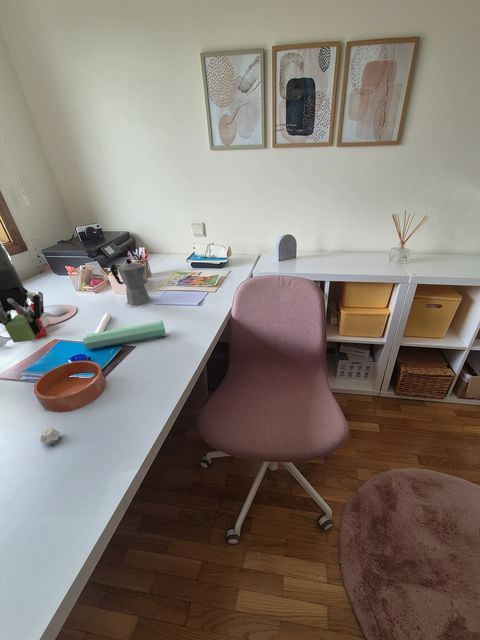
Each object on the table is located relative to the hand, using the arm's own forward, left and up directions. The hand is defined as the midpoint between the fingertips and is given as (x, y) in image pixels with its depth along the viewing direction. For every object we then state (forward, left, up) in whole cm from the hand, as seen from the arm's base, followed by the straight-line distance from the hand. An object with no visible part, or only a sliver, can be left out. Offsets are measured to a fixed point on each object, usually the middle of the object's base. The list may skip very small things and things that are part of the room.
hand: (27, 334), depth 74 cm
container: (+17, +18, -16) cm, 29 cm away
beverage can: (-14, +30, -16) cm, 36 cm away
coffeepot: (+16, +52, -16) cm, 56 cm away
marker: (+7, +31, -16) cm, 35 cm away
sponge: (0, 0, 0) cm, 0 cm away
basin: (+7, -5, -16) cm, 18 cm away
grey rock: (+7, -22, -16) cm, 28 cm away
